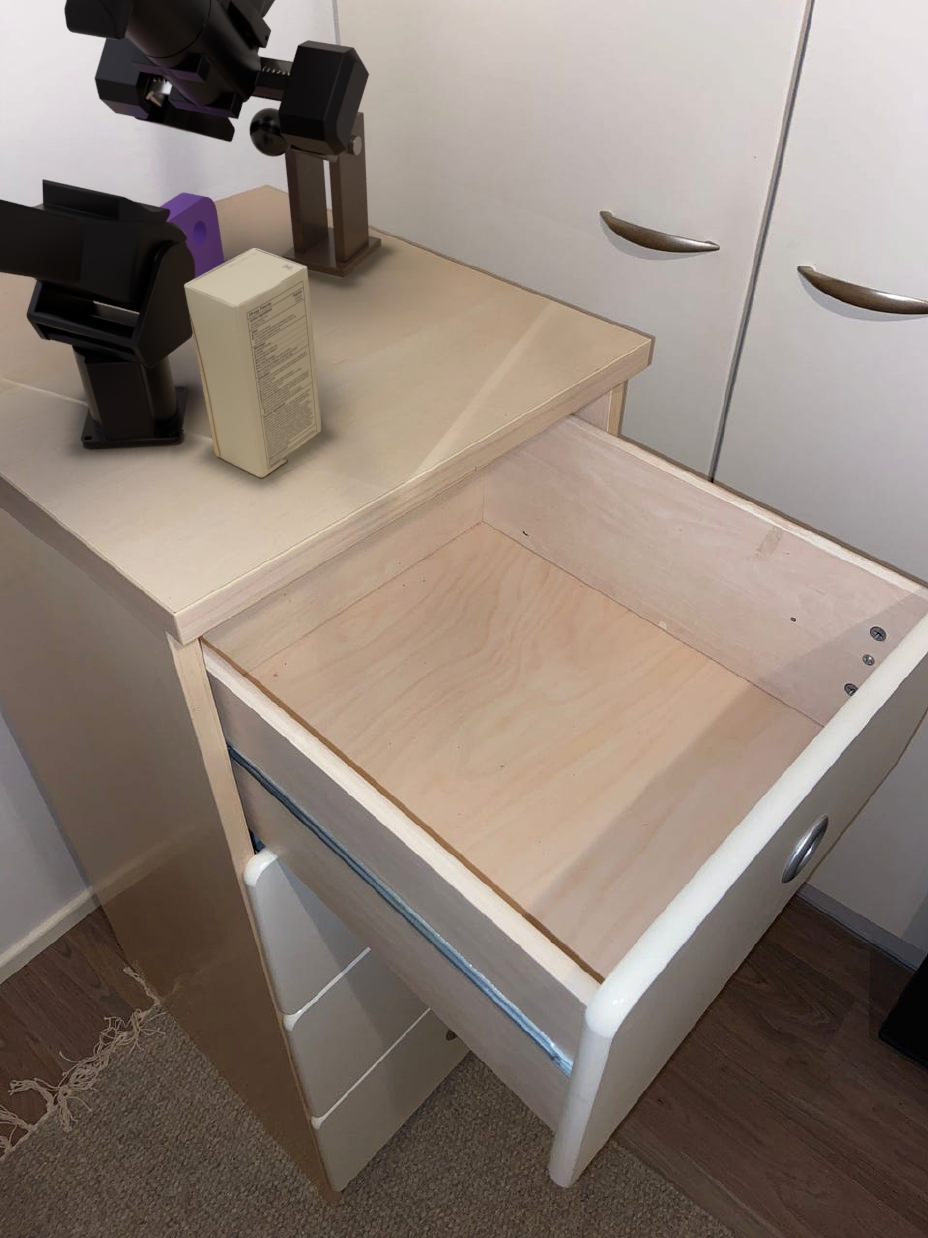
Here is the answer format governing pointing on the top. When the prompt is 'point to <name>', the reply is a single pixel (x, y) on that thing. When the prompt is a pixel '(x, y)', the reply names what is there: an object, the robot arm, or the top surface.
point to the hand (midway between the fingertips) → (282, 145)
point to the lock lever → (268, 133)
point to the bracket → (198, 229)
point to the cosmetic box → (256, 358)
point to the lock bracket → (308, 209)
